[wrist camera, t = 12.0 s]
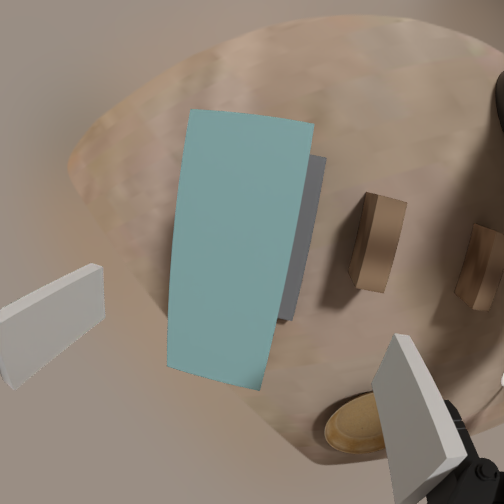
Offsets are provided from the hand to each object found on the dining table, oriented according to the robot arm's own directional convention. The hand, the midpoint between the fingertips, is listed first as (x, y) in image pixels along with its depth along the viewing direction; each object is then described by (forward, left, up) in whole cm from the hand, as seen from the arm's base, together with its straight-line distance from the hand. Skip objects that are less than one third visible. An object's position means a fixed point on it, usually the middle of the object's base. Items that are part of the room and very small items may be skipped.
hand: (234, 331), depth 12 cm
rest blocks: (-2, +18, -21) cm, 27 cm away
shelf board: (0, -2, -10) cm, 11 cm away
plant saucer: (+24, +20, -21) cm, 38 cm away
